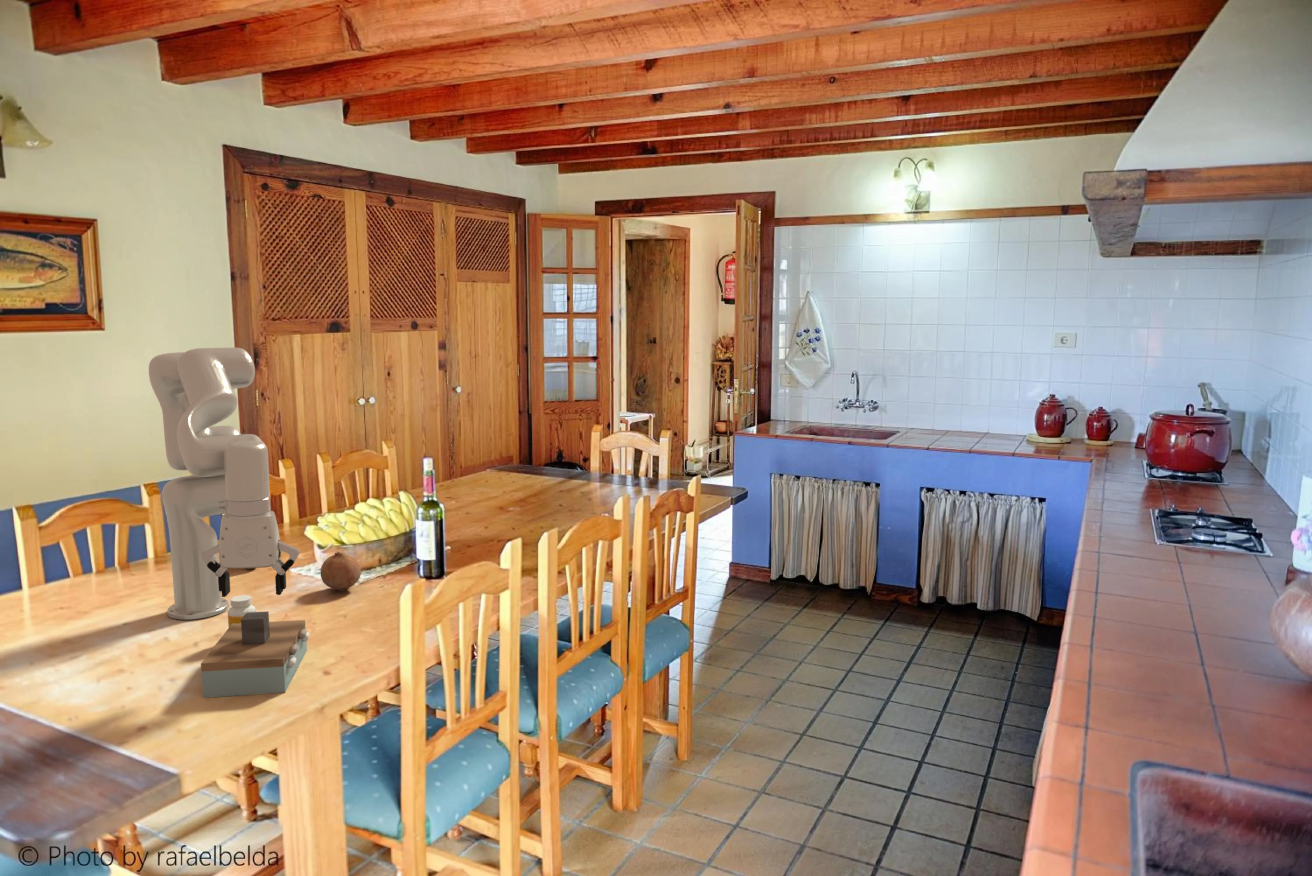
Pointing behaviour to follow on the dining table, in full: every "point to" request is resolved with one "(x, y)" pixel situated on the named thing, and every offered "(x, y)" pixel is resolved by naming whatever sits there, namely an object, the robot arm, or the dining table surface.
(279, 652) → the door
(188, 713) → the dining table surface
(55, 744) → the dining table surface
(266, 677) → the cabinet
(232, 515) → the robot arm
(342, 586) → the onion
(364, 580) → the dining table surface
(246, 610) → the supplement bottle
